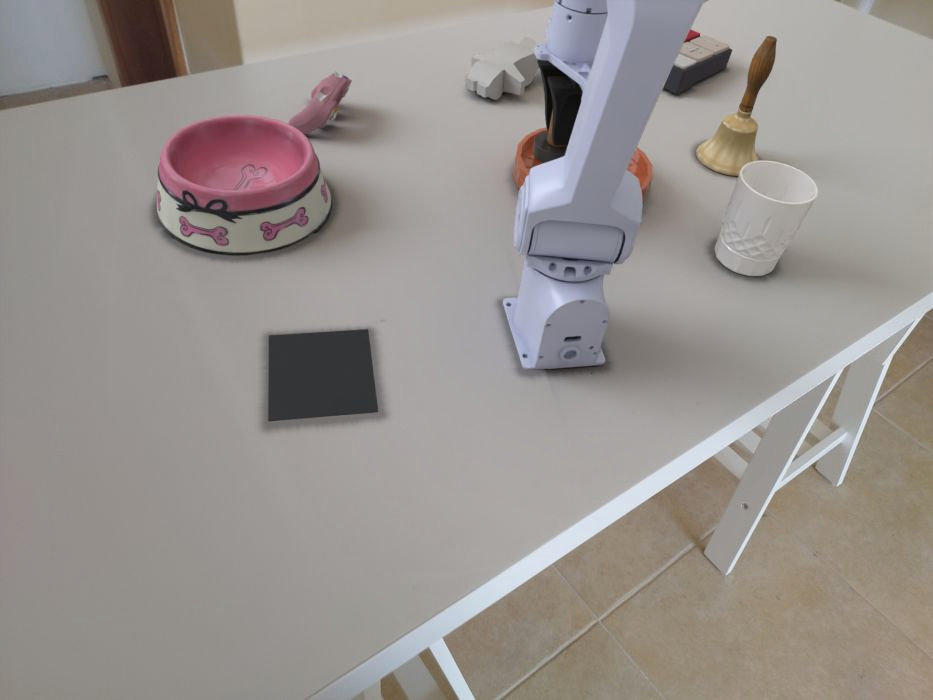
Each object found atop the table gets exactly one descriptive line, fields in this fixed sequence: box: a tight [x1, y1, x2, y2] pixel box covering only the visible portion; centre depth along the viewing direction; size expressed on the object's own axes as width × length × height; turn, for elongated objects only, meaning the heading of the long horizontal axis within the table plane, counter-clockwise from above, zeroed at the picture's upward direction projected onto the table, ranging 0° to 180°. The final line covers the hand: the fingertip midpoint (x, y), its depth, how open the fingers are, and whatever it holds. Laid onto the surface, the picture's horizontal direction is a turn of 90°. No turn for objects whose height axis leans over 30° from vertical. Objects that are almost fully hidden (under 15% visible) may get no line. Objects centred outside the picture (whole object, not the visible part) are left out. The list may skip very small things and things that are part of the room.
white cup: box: [713, 159, 819, 277], centre depth 79 cm, size 8×8×10 cm
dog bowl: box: [156, 114, 333, 257], centre depth 79 cm, size 18×19×7 cm
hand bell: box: [695, 35, 778, 177], centre depth 91 cm, size 8×8×16 cm
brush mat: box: [267, 328, 379, 422], centre depth 65 cm, size 10×9×1 cm
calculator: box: [663, 28, 733, 95], centre depth 113 cm, size 11×4×15 cm
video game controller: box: [287, 71, 353, 135], centre depth 93 cm, size 10×5×7 cm, turn 168°
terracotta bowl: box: [512, 127, 654, 205], centre depth 88 cm, size 16×16×4 cm
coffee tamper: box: [533, 110, 568, 163], centre depth 76 cm, size 5×5×7 cm
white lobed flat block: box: [464, 36, 540, 101], centre depth 105 cm, size 10×5×15 cm
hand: (559, 136), depth 77 cm, fingers closed on coffee tamper, 2 cm apart
